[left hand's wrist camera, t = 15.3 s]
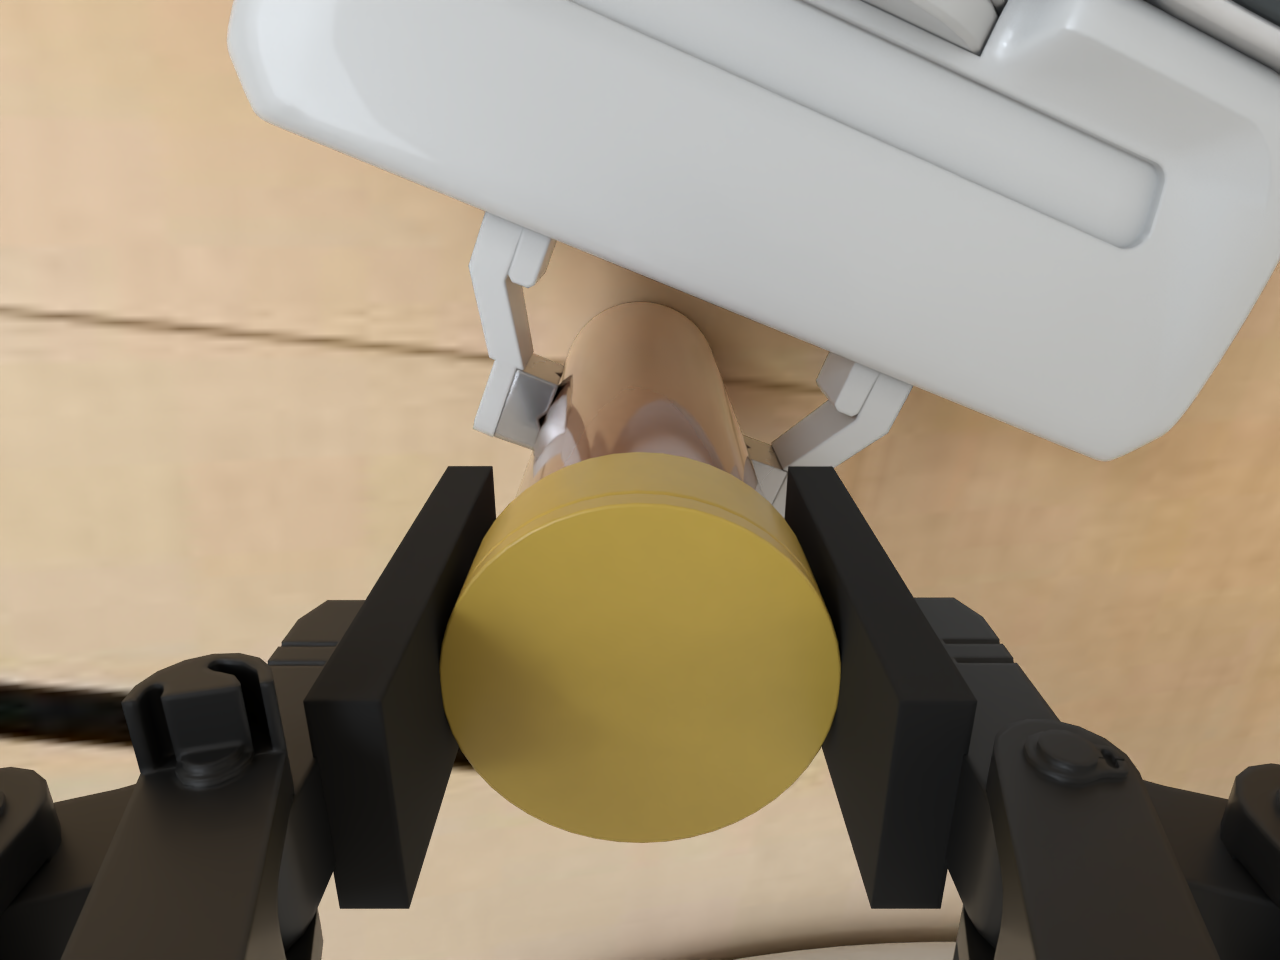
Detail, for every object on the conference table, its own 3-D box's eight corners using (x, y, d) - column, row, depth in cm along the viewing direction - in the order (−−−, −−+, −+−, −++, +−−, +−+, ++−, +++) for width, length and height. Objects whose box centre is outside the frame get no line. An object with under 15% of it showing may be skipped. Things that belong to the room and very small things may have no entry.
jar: (741, 405, 25) (870, 723, 11) (612, 473, 26) (579, 849, 12) (671, 272, 24) (715, 442, 10) (536, 348, 25) (395, 607, 11)
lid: (884, 610, 12) (925, 686, 10) (643, 805, 13) (643, 901, 12) (636, 374, 11) (636, 415, 9) (397, 615, 12) (356, 692, 10)
